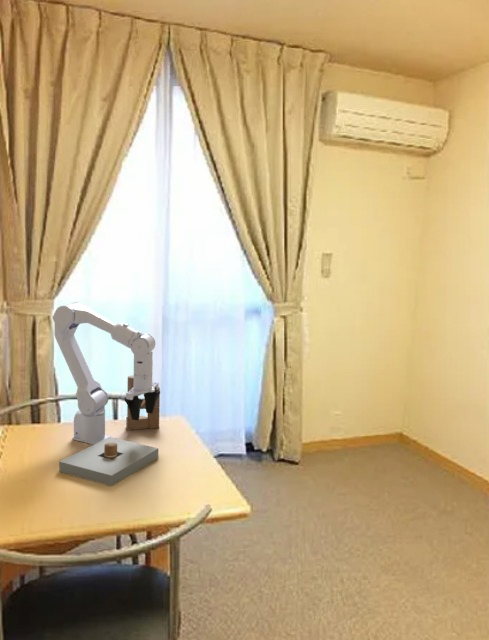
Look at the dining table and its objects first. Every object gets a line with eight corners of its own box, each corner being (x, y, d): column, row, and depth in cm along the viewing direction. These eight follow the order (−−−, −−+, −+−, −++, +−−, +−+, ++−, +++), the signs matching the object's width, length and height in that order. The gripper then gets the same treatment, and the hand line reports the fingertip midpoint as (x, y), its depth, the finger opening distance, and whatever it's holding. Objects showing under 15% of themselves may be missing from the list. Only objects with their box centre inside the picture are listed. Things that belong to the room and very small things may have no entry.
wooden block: (159, 428, 201) (160, 377, 198) (127, 430, 197) (127, 378, 194) (157, 424, 204) (158, 374, 201) (126, 426, 201) (126, 375, 198)
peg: (101, 465, 169) (101, 445, 168) (109, 461, 172) (109, 441, 171) (111, 468, 167) (112, 448, 166) (119, 463, 171) (120, 444, 170)
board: (59, 471, 164) (59, 461, 163) (109, 446, 183) (109, 436, 183) (111, 486, 156) (111, 475, 156) (158, 457, 176) (158, 448, 175)
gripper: (139, 381, 173) (139, 425, 176) (166, 370, 186) (166, 412, 189) (120, 377, 176) (120, 421, 179) (148, 367, 189) (147, 408, 192)
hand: (142, 416), depth 184 cm, fingers open, 7 cm apart
